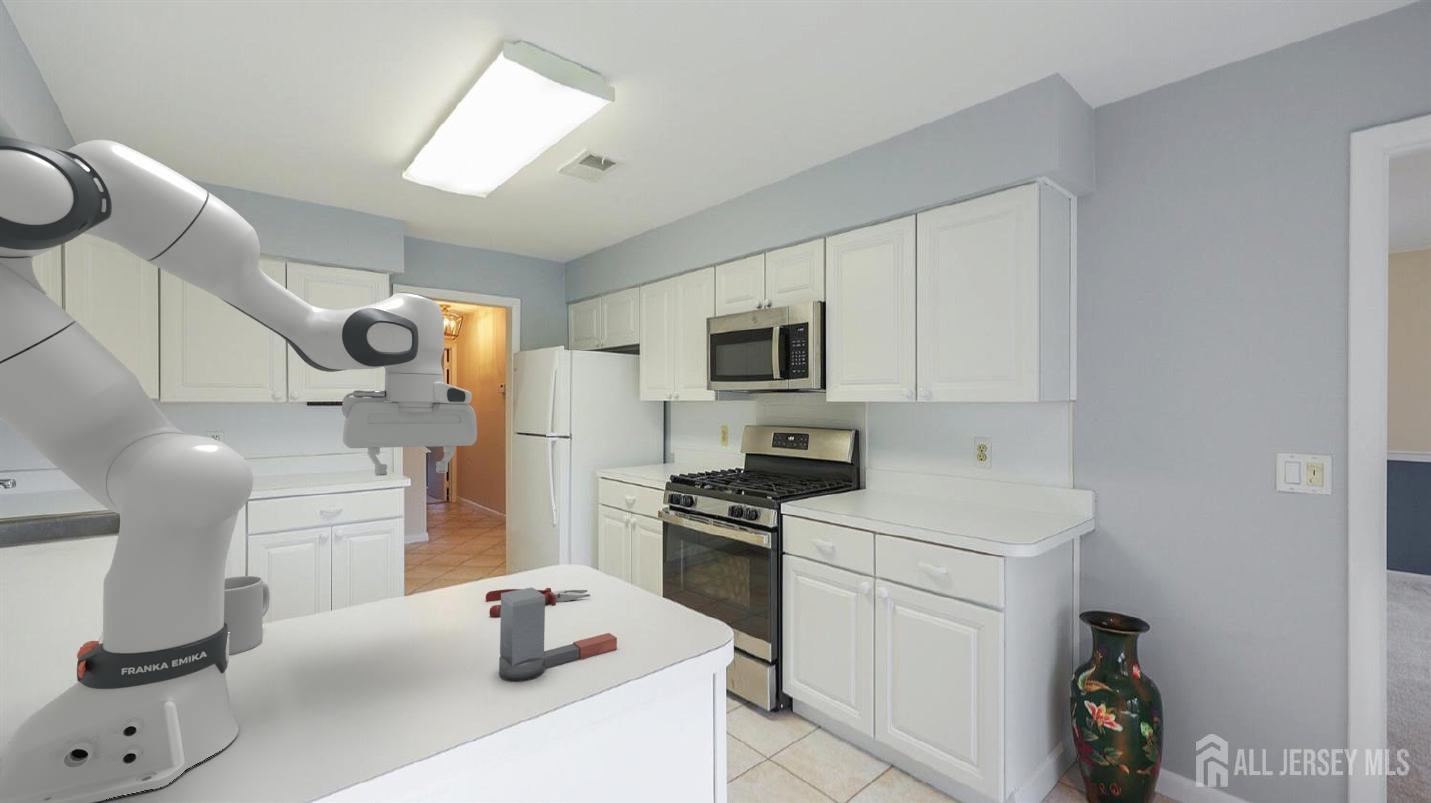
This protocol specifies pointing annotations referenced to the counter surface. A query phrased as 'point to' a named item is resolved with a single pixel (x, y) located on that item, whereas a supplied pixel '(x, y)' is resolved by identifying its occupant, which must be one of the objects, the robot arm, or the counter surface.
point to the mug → (245, 611)
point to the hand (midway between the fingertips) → (412, 473)
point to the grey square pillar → (522, 626)
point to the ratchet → (557, 657)
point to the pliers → (549, 596)
